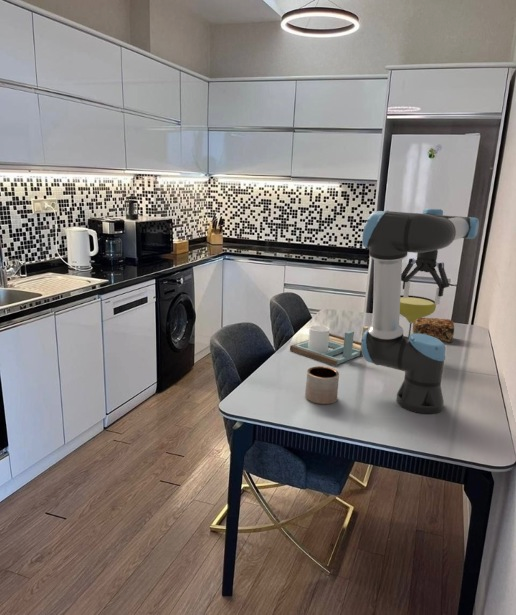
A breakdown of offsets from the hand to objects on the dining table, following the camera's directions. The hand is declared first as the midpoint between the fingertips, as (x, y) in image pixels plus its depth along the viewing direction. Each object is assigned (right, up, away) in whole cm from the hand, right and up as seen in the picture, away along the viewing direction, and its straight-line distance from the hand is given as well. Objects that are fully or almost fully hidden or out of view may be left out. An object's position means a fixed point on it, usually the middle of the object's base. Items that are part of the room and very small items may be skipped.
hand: (420, 300), depth 193 cm
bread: (+20, -18, +42) cm, 50 cm away
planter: (-45, -34, -30) cm, 64 cm away
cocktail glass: (-1, -24, +15) cm, 28 cm away
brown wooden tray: (-34, -22, +17) cm, 44 cm away
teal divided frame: (-36, -23, +14) cm, 45 cm away
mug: (-39, -22, +16) cm, 48 cm away
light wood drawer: (-27, -20, +23) cm, 41 cm away
